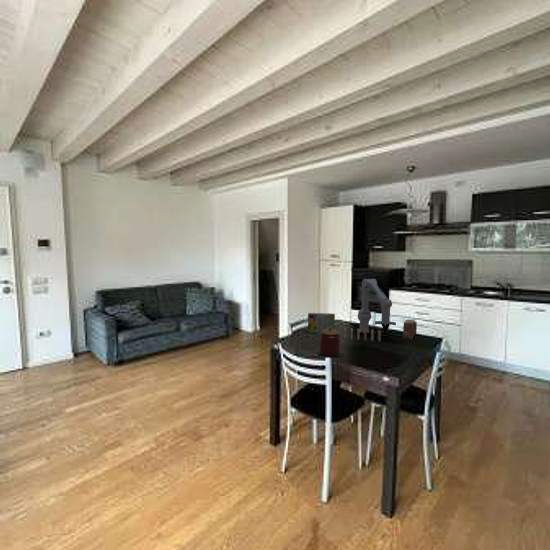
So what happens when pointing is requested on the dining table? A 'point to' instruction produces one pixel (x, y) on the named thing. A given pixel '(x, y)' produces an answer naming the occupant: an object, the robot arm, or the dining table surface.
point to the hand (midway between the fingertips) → (385, 334)
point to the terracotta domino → (365, 334)
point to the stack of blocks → (409, 329)
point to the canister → (330, 342)
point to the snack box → (320, 321)
